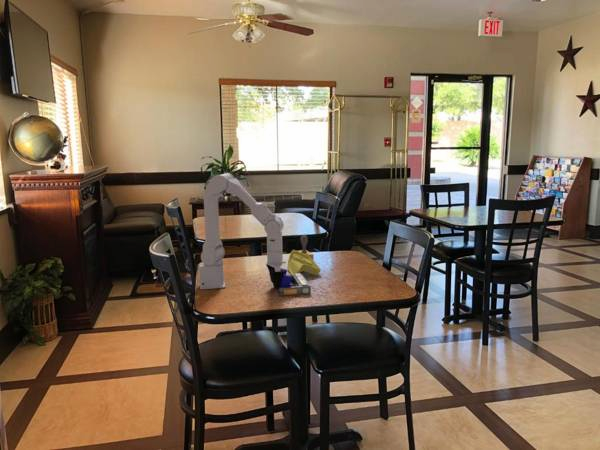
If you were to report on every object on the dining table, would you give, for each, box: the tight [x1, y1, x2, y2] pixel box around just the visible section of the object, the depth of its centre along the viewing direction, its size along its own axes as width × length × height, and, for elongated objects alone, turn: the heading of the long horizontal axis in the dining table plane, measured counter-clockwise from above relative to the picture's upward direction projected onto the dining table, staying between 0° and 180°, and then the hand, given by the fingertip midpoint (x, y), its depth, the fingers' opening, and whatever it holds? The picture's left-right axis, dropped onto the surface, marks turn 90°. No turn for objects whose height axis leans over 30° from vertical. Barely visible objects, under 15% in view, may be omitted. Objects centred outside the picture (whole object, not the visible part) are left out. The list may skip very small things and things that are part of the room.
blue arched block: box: [280, 267, 295, 288], centre depth 183 cm, size 12×4×6 cm, turn 11°
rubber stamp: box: [297, 234, 315, 262], centre depth 225 cm, size 10×6×12 cm, turn 20°
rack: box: [278, 272, 312, 297], centre depth 184 cm, size 11×17×4 cm
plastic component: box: [287, 249, 322, 277], centre depth 208 cm, size 20×7×10 cm
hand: (275, 285), depth 183 cm, fingers open, 7 cm apart
